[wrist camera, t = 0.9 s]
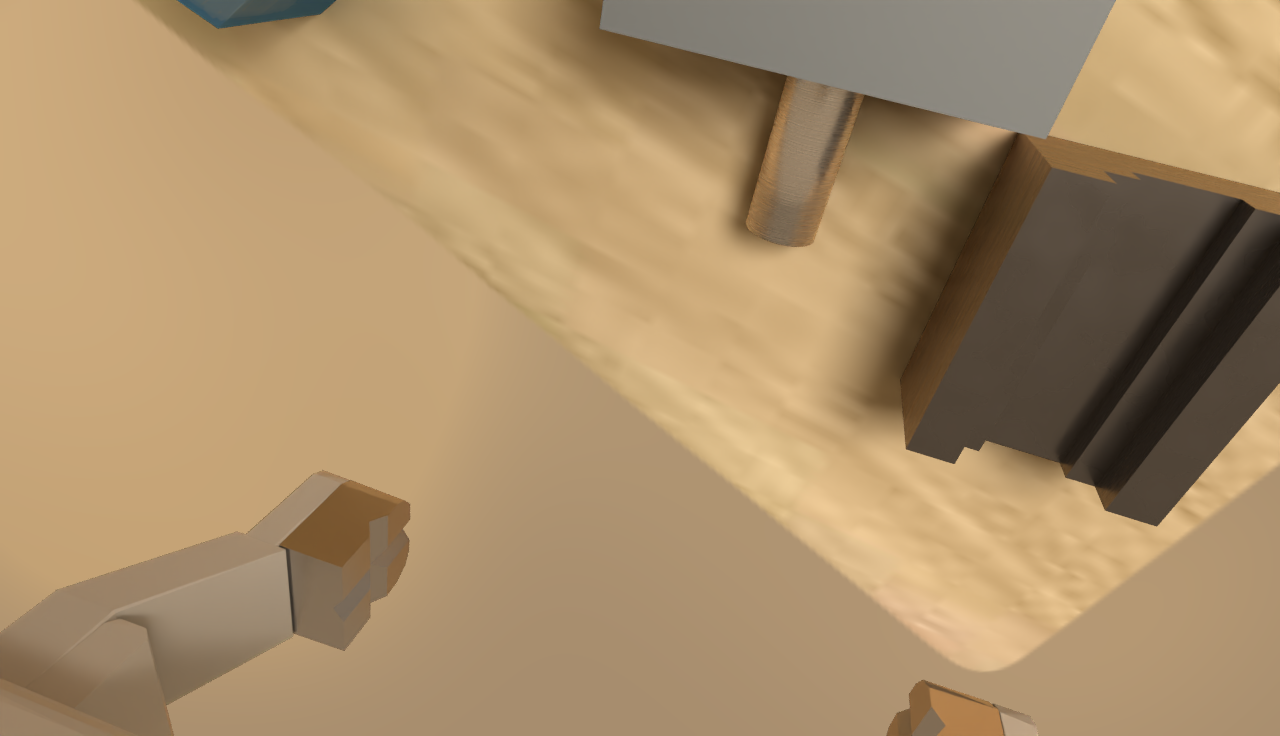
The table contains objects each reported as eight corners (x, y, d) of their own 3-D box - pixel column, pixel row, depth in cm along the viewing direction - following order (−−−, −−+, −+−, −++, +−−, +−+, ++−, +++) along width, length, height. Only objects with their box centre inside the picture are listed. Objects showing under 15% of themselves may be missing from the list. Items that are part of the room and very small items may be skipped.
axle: (829, -110, 25) (854, -109, 22) (909, -92, 25) (942, -89, 22) (740, 212, 31) (752, 240, 29) (804, 222, 32) (821, 251, 29)
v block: (1020, 128, 27) (1052, 167, 22) (1297, 197, 26) (1390, 252, 21) (900, 380, 34) (906, 449, 29) (1115, 444, 32) (1157, 526, 28)
